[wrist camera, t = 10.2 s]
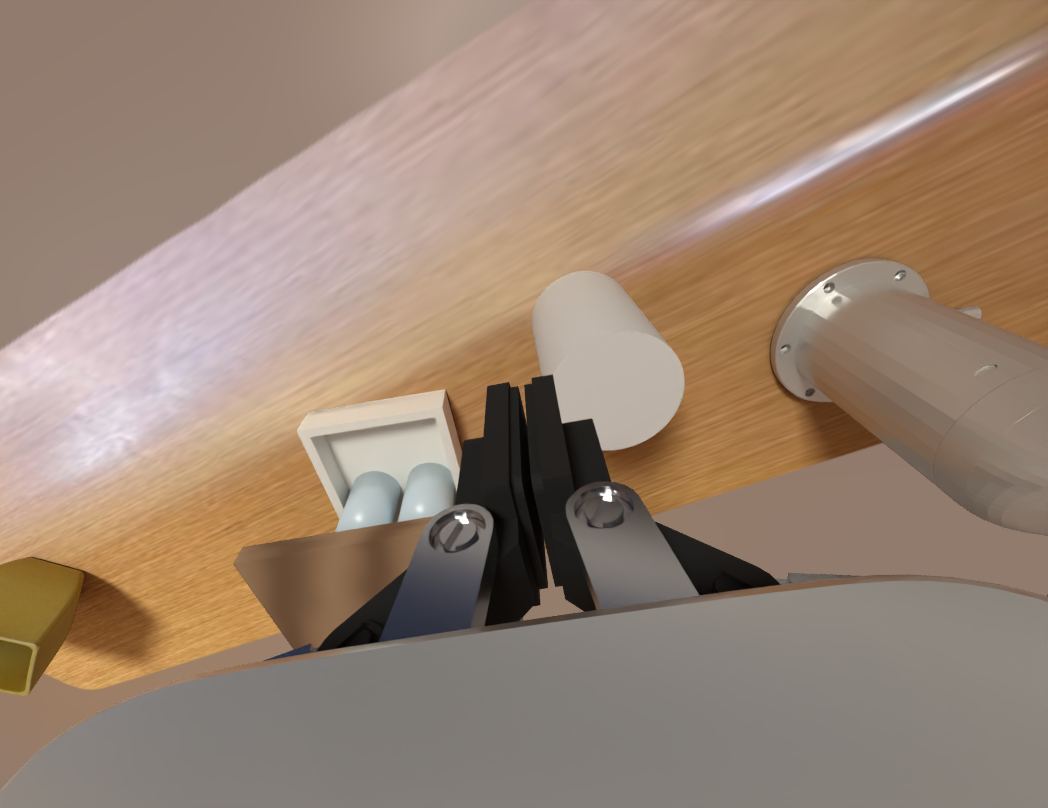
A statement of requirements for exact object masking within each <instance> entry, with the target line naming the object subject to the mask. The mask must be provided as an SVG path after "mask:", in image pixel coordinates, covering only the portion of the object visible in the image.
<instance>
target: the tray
mask: <svg viewBox="0 0 1048 808" xmlns="http://www.w3.org/2000/svg"><path fill="white" fill-rule="evenodd" d="M297 433H298V435H299V437H300V439H301V441H302V443H303V445H304V447H305V449H306V451H307V453H308V455H309V457H310V459H311V461H312V464H313V466H314V468H315V470H316V472H317V474H318V476H319V478H320V480H321V482H322V484H323V486H324V488H325V490H326V492H327V494H328V497H329V499H330V501H331V503H332V505H333V507H334V509H335V511H336V513H337V515H338V517H339V519H340V518H341V515H342V513H343V510H344V507H345V505H346V502H347V499H348V497H349V494H350V491H351V489H352V486H353V483H354V481H355V479H356V478H357V477H358V476H359V475H361V474H363V473H365V472H369V471H380V472H384V473H387V474H389V475H391V476H392V477H393V478H395V479H396V480H397V482H398V483H399V485H400V489H401V493H400V497H399V501H398V505H397V509H396V514H395V518H394V522H393V523H395V522H398V519H399V515H400V510H401V506H402V502H403V497H404V493H405V488H406V484H407V480H408V476H409V473H410V472H411V470H412V469H413V468H414V467H416V466H418V465H420V464H423V463H438V464H441V465H443V466H445V467H447V468H448V469H449V470H450V471H451V474H452V477H453V481H454V484H455V488H454V498H453V506H455V501H456V494H457V487H458V479H459V472H460V465H461V458H462V450H461V446H460V442H459V439H458V435H457V431H456V427H455V424H454V420H453V416H452V413H451V409H450V405H449V402H448V398H447V394H446V390H438V391H432V392H426V393H420V394H414V395H407V396H401V397H395V398H389V399H383V400H376V401H370V402H364V403H358V404H352V405H345V406H339V407H333V408H327V409H321V410H314V411H309V412H308V413H307V415H306V417H305V418H304V420H303V421H302V423H301V425H300V426H299V428H298V429H297Z"/></svg>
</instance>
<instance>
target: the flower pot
mask: <svg viewBox="0 0 1048 808" xmlns="http://www.w3.org/2000/svg"><path fill="white" fill-rule="evenodd" d="M83 581H84V573H83V572H82V571H79V570H76V569H72V568H68V567H65V566H61V565H57V564H54V563H50V562H46V561H43V560H39V559H35V558H31V557H27V558H23V559H19V560H14V561H11V562H8V563H5V564H2V565H0V692H4V693H10V694H16V695H25V696H26V695H28V694H29V693H30V692H31V690H32V689H33V687H34V685H35V684H36V683H37V681H38V680H39V678H40V677H41V676H42V674H43V673H44V671H45V670H46V668H47V667H48V665H49V664H50V662H51V661H52V659H53V658H54V656H55V655H56V653H57V652H58V650H59V649H60V647H61V646H62V644H63V642H64V641H65V639H66V637H67V635H68V632H69V630H70V628H71V625H72V623H73V620H74V617H75V613H76V610H77V605H78V601H79V597H80V593H81V589H82V585H83Z"/></svg>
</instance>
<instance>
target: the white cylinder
mask: <svg viewBox="0 0 1048 808" xmlns="http://www.w3.org/2000/svg"><path fill="white" fill-rule="evenodd" d="M532 331H533V336H534V341H535V346H536V350H537V355H538V360H539V365H540V370H541V374H542V376H546V375H552V374H553V378H554V383H555V389H556V394H557V400H558V405H559V410H560V416H561V421H562V423H567V422H573V421H579V420H585V419H590V418H592V419H593V422H594V425H595V429H596V432H597V435H598V439H599V442H600V446H601V449H602V450H606V451H607V450H619V449H624V448H628V447H632V446H635V445H637V444H640V443H642V442H644V441H646V440H647V439H649V438H651V437H652V436H654V435H655V434H657V433H658V432H659V431H660V430H661V429H663V428H664V427H665V426H666V425H667V423H668V422H669V421H670V420H671V419H672V417H673V416H674V414H675V413H676V411H677V409H678V407H679V405H680V403H681V400H682V397H683V392H684V372H683V368H682V365H681V363H680V361H679V359H678V357H677V355H676V354H675V353H674V351H673V350H672V349H671V348H670V346H669V345H668V344H667V343H666V341H665V340H664V339H663V338H662V336H661V335H660V334H659V333H658V331H657V330H656V329H655V328H654V326H653V325H652V324H651V323H650V321H649V320H648V319H647V318H646V316H645V315H644V314H643V313H642V311H641V310H640V309H639V308H638V307H637V305H636V304H635V303H634V302H633V300H632V299H631V298H630V297H629V295H628V294H627V293H626V292H625V290H624V289H623V288H622V287H621V286H620V285H619V284H618V283H617V282H616V281H615V280H614V279H612V278H611V277H609V276H607V275H604V274H602V273H598V272H593V271H579V272H574V273H570V274H567V275H565V276H563V277H561V278H559V279H557V280H555V281H554V282H553V283H551V284H550V285H549V286H548V287H547V288H546V289H545V290H544V291H543V293H542V294H541V295H540V297H539V299H538V300H537V302H536V305H535V307H534V310H533V315H532Z"/></svg>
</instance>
